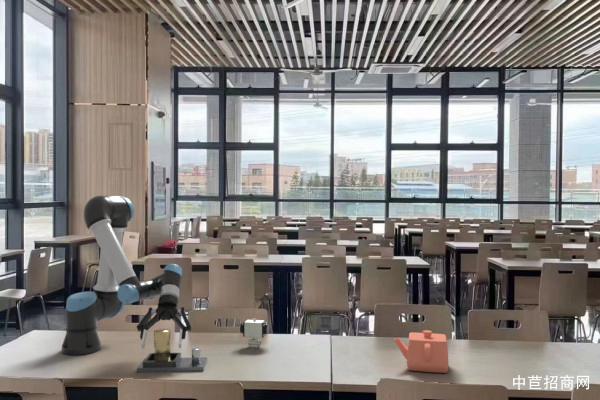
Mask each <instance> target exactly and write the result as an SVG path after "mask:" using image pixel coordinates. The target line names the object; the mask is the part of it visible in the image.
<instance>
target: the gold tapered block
mask: <svg viewBox="0 0 600 400" xmlns="http://www.w3.org/2000/svg"><path fill="white" fill-rule="evenodd" d="M171 346H172V345H171V328H158V329H155V330H154V331H153V353H154V361H171V353H172V352H171Z"/></svg>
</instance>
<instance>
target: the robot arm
mask: <svg viewBox="0 0 600 400" xmlns="http://www.w3.org/2000/svg"><path fill="white" fill-rule="evenodd" d="M134 215H135V207H134V204H133V203H132V201H131V200H130V199H129V198H128V197H126V196H124V195H121V196H120V195H96V196H93V197H92V198H90V199H89V200H88V201H87V202H86V204H85V205H84V209H83V219H84V223H85V225H86V228H87V230H88V232H89V233H92V234H93V236H94V238H95V240H96V242H97V245H98V246H99V248H100V250H99V251H100V253H99V264H98V275H97V283H96V284H95V285H94V286H93V289H92V291H82V292H77V293H74V294H71V295H69V296H68V297H67V299H66V305H65V311H66V312H65V316H66V317H65V318H66V320H65V323H66V326H65V327H66V329H65V330H66V332H65V333H66V334H65V336H64V338H63V342H62V345H61V353H62V354H63V355H69V356H79V355H81V356H82V355H88V354H93V353H96V352H98V351H100V350H101V349H102V348H101V346H102V344H101V342H102V341H101V340H100V336H99V334H98V330H97V322H99V321H102V320H107V319H112V318H114V317H116V316H118V315H120V314H121V313H122V312H123V310H124V309H125V306H126V304H131V303H136V302H139V301H142V300H145V301H148V300H152V299H155V298H157V297H159V298H158V303H157V308H153V307H149V308H148V311H147V313H145V315H144V316H143V317H142V319H141V320H140V322H139V323H138V324H137V326H136V329H137V332H140V333H139V334H140V335H139V338H140V340H141V344H140V346H141V348H142V349H143V350H144V349H145V347H146V341H147V336H148V332H147V331H148V330H149V329H151V328H152V327H154V325H155V324H156V323H158V322H160V321H171V320H172V321H173V322H174V323H175V324H176V325H177V326H178V327H179V329H180V330H179V335H178V336H179V337H178V344H177V345H178V349H182V345H183V340H185V339H186V335H187V334H186V333H187V332H188V331H189V332H191V331H192V326H191V323H190V321H189V319H188V317H187V315H186V312H185V307H180V308H178V304H179V297H180V292H181V290H180V289H181V284H182V283H181V282H182V278H183V270H182V269H183V268H182V267H181V266H179V264H174V263H170V264H166V265H165V267H164V269H163V272H162V273H161V274H159V275H157V276H155V277H152V278H150V279H146V280H139V278H138V277H137V275H136V272H135V271H134V269H133V267H132V265H131V262H130V261H129V259H128V257H127V254H126V252H125V250H124V249H123V247H122V246H123V237H124V231H125V230H126V229H128V223H129V222H130V221H132V219H133V218H134ZM177 314H179V315H180V316H181V318H182V319H183V322H184V323H183V322H182V321H181V320H180V319H179V318H178V316H177ZM152 316H153V317H152Z"/></svg>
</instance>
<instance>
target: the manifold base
mask: <svg viewBox="0 0 600 400" xmlns="http://www.w3.org/2000/svg"><path fill="white" fill-rule="evenodd" d="M207 363H208V356H207V357H205V356H203V357H201V348H200V347H193V348H191V357H182V353H181V352H171V361H154V352H151V353H148V355H147V356H146V357H145V358H144V359H142V361H141V362H140V363H139V365H138V366H137V367H136V373H162V372H169V373H170V372H172V373H173V372H174V373H175V372H204V370H205V368H206V365H207Z"/></svg>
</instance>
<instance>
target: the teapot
mask: <svg viewBox="0 0 600 400" xmlns="http://www.w3.org/2000/svg"><path fill="white" fill-rule="evenodd" d="M408 335H409V336H408V341H407V345H406V344H405V343H404V342H403V341H402V340H401V339H400V337H397V338H393V341H394V343H395V344H396V346H397V347H398V348H399V351H400V352H401V353H402V356H403V357H404V359H405V360H406V367H407V370H408V371H413V372H424V373H441V374H443V373H444V374H447V373H448V370H449V348H448V342H447V335H446V334H443V333H433V331H432V330H428V329H427V330H422V332H412V331H411V332H409V334H408Z"/></svg>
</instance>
